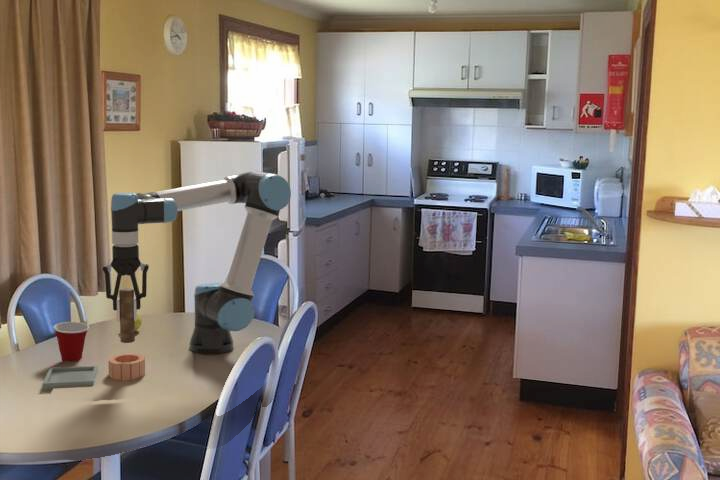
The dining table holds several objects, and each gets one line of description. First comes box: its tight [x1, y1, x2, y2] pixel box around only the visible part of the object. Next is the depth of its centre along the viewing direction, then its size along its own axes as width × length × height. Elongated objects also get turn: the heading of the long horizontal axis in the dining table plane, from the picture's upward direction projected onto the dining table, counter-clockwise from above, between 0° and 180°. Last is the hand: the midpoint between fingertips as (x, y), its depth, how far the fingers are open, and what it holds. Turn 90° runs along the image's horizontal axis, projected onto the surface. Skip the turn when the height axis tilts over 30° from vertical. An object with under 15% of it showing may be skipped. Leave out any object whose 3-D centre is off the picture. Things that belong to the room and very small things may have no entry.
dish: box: [42, 364, 99, 392], centre depth 220 cm, size 14×14×2 cm
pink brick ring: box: [107, 352, 146, 381], centre depth 225 cm, size 11×11×6 cm
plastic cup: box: [53, 321, 90, 364], centre depth 237 cm, size 11×11×12 cm
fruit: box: [134, 314, 142, 332], centre depth 272 cm, size 7×7×12 cm
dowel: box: [118, 288, 136, 344], centre depth 222 cm, size 4×4×16 cm
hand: (127, 319), depth 223 cm, fingers closed on dowel, 4 cm apart
